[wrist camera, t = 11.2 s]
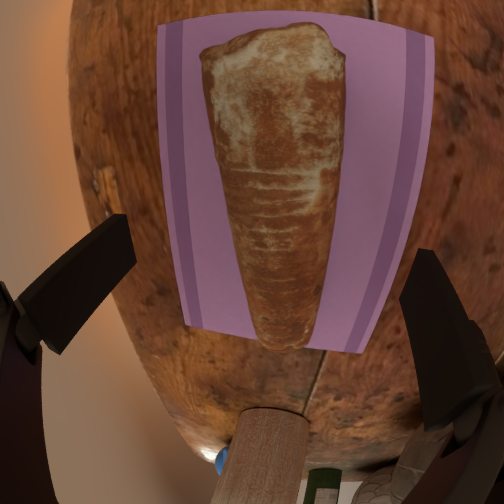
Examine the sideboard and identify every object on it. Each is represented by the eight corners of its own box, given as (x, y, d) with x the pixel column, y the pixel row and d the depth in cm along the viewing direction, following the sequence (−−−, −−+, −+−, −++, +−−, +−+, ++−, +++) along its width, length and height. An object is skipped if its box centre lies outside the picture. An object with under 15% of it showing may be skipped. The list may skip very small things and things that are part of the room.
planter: (245, 429, 36) (206, 549, 17) (233, 402, 31) (179, 553, 12) (308, 435, 34) (280, 564, 15) (311, 410, 29) (275, 575, 10)
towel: (161, 26, 12) (157, 25, 11) (431, 39, 9) (434, 37, 8) (187, 321, 24) (185, 325, 24) (362, 349, 21) (362, 353, 21)
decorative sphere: (350, 475, 47) (339, 540, 30) (362, 457, 38) (350, 544, 21) (420, 467, 41) (417, 529, 25) (450, 443, 32) (450, 524, 15)
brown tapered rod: (339, 48, 10) (352, 19, 6) (319, 327, 20) (314, 387, 16) (221, 51, 12) (172, 31, 7) (240, 318, 22) (220, 374, 17)
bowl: (385, 391, 24) (382, 518, 12) (538, 332, 15) (573, 436, 3) (394, 442, 32) (390, 518, 20) (502, 406, 23) (512, 478, 11)
